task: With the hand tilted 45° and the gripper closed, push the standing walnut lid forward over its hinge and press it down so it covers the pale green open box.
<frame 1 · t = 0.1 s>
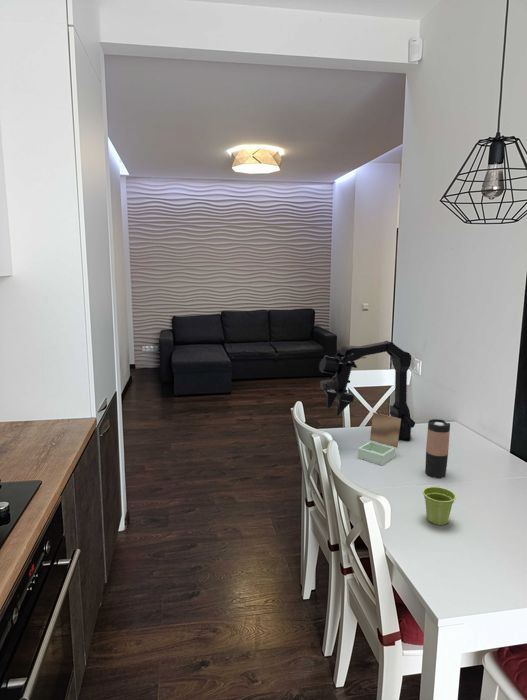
hand: (332, 411, 197), 15 cm above the table, tool pointing down, fingers open, 9 cm apart
pale green open box: (375, 457, 188), on the table
lid: (385, 429, 191), point 10 cm above the table, hinge at 99.0°
travel mug: (435, 474, 174), on the table
plant pot: (437, 520, 143), on the table
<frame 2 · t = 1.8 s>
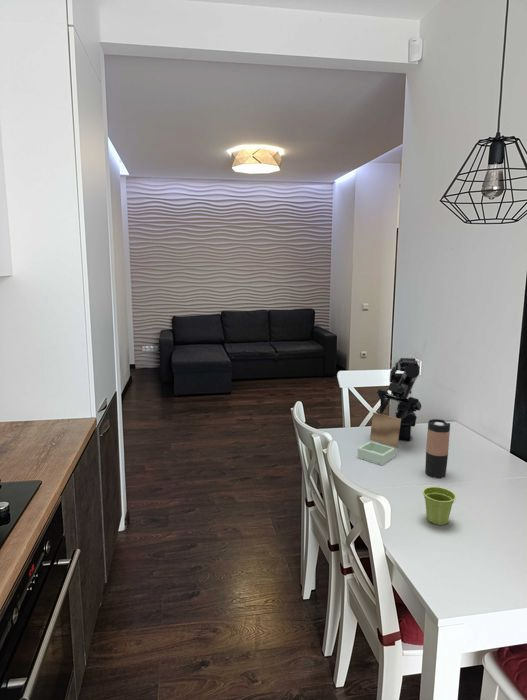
hand: (390, 416, 195), 14 cm above the table, tool tilted 40°, fingers open, 9 cm apart
nothing on the table moved.
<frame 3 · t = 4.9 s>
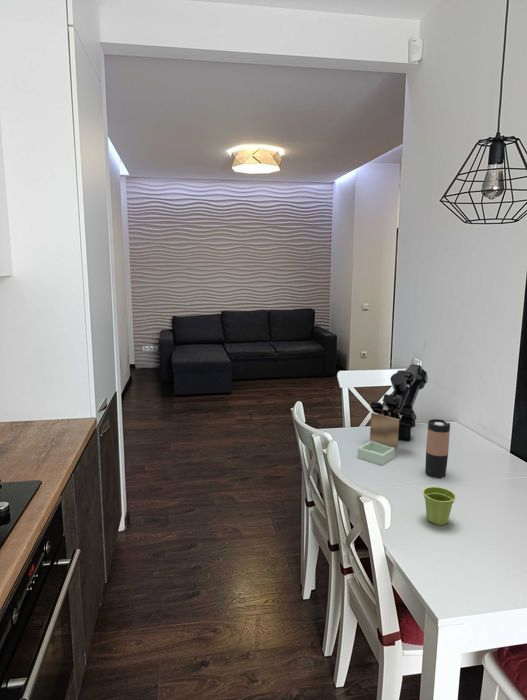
hand: (385, 428, 191), 10 cm above the table, tool tilted 45°, fingers closed, pressing on lid
lid: (384, 429, 191), point 10 cm above the table, hinge at 91.1°, touching gripper
everything else where it was.
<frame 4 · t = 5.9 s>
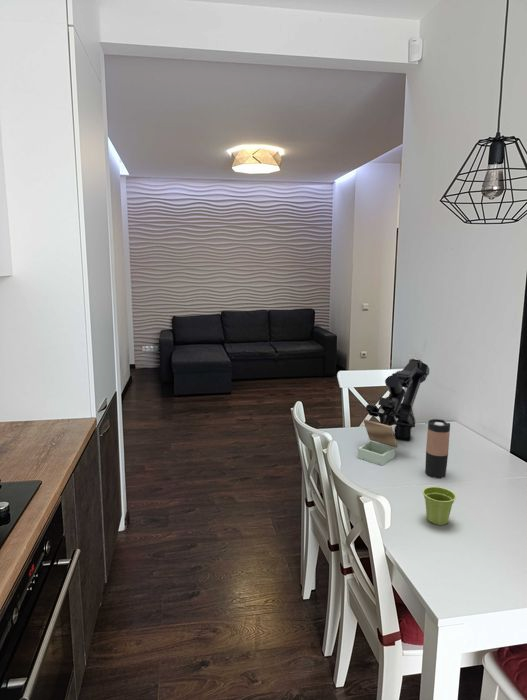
hand: (380, 432, 189), 10 cm above the table, tool tilted 45°, fingers closed, pressing on lid
lid: (380, 433, 189), point 9 cm above the table, hinge at 59.2°, touching gripper
everything else where it was.
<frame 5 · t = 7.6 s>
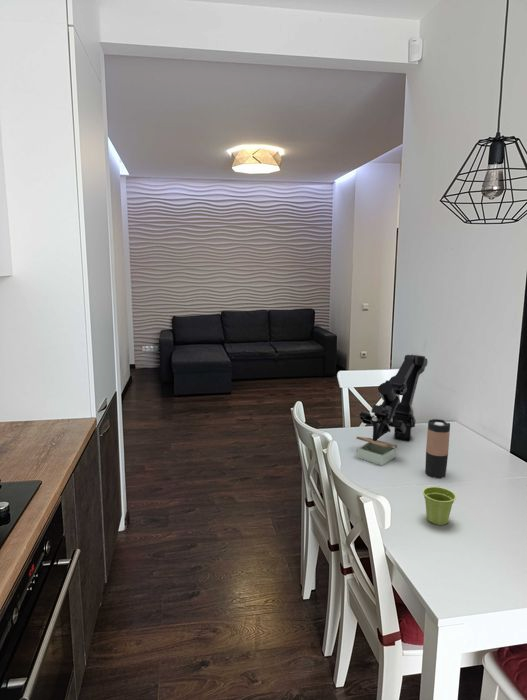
hand: (373, 440, 185), 8 cm above the table, tool tilted 45°, fingers closed, pressing on lid
lid: (376, 442, 187), point 7 cm above the table, hinge at 19.2°, touching gripper
everything else where it was.
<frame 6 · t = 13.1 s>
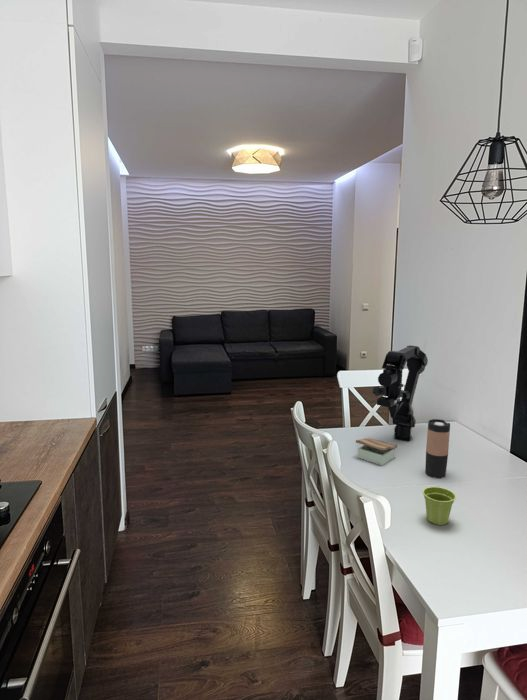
hand: (392, 417, 197), 13 cm above the table, tool pointing down, fingers closed
lid: (376, 443, 187), point 6 cm above the table, hinge at 11.9°
everything else where it was.
at the end: lid at +12° (first picture: +99°); travel mug moved 0.2 cm from its start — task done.
